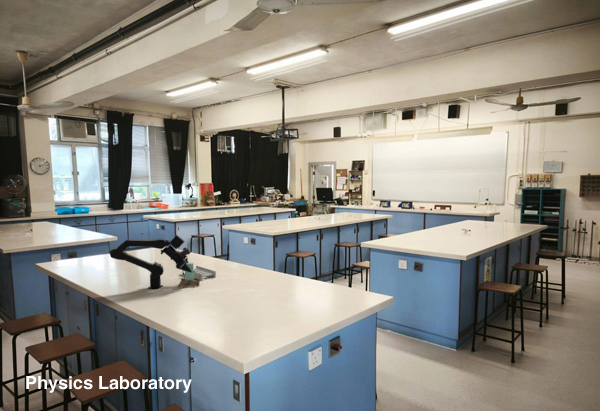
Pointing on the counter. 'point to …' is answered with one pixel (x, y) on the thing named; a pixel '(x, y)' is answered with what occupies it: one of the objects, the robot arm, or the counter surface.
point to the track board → (189, 282)
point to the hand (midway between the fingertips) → (191, 270)
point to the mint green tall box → (189, 274)
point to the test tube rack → (203, 272)
